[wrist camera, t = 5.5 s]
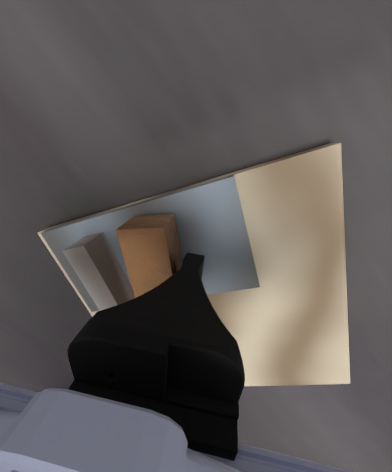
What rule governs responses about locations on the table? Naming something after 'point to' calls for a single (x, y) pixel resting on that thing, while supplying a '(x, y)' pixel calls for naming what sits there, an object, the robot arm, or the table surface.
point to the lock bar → (150, 250)
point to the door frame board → (243, 261)
